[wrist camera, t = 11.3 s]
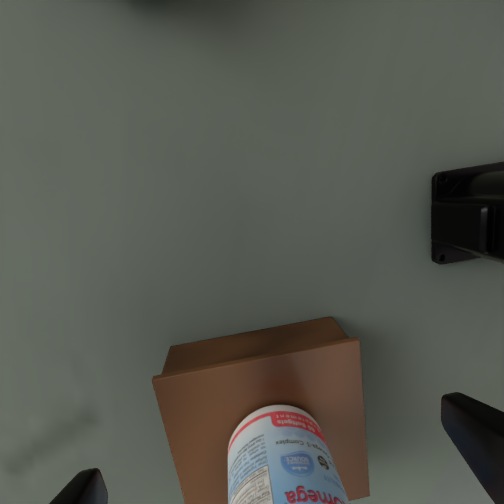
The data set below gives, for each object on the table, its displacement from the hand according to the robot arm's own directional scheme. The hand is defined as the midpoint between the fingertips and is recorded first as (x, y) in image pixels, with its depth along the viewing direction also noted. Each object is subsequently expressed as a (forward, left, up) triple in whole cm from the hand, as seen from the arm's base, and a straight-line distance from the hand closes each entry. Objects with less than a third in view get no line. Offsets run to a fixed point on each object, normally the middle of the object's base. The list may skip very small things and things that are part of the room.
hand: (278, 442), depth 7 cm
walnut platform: (0, +10, -13) cm, 16 cm away
